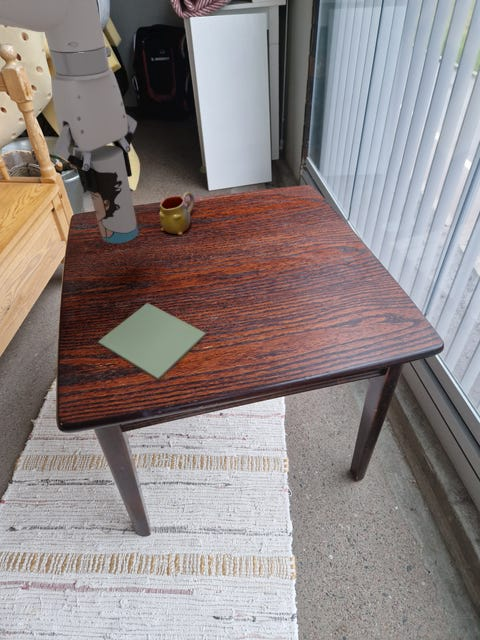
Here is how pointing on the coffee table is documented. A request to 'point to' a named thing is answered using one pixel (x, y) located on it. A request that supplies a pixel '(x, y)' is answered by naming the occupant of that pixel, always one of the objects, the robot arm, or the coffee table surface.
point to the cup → (113, 195)
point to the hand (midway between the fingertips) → (108, 181)
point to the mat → (152, 340)
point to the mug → (176, 213)
